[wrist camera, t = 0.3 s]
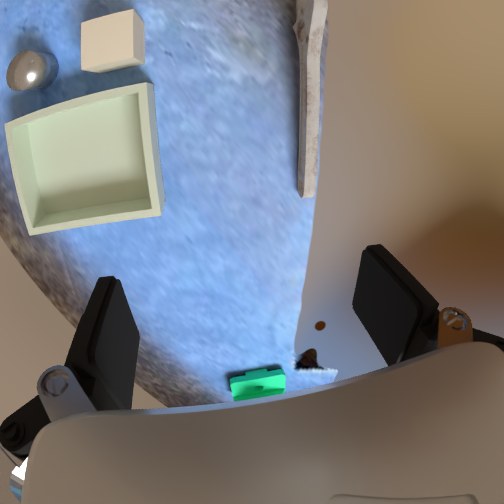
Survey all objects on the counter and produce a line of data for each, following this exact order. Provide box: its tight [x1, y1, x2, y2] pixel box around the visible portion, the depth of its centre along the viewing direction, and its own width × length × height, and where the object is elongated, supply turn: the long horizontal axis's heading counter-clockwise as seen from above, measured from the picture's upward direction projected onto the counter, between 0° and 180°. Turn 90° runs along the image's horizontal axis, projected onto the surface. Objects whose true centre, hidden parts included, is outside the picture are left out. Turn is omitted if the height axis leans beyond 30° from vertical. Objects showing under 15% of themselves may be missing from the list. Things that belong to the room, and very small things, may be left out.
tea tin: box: [6, 50, 59, 91], centre depth 23 cm, size 5×5×6 cm
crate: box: [5, 82, 166, 235], centre depth 31 cm, size 16×20×5 cm
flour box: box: [81, 9, 145, 73], centre depth 24 cm, size 6×6×7 cm
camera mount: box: [230, 368, 285, 401], centre depth 58 cm, size 12×8×10 cm, turn 94°
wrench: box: [293, 0, 328, 198], centre depth 32 cm, size 8×2×30 cm
